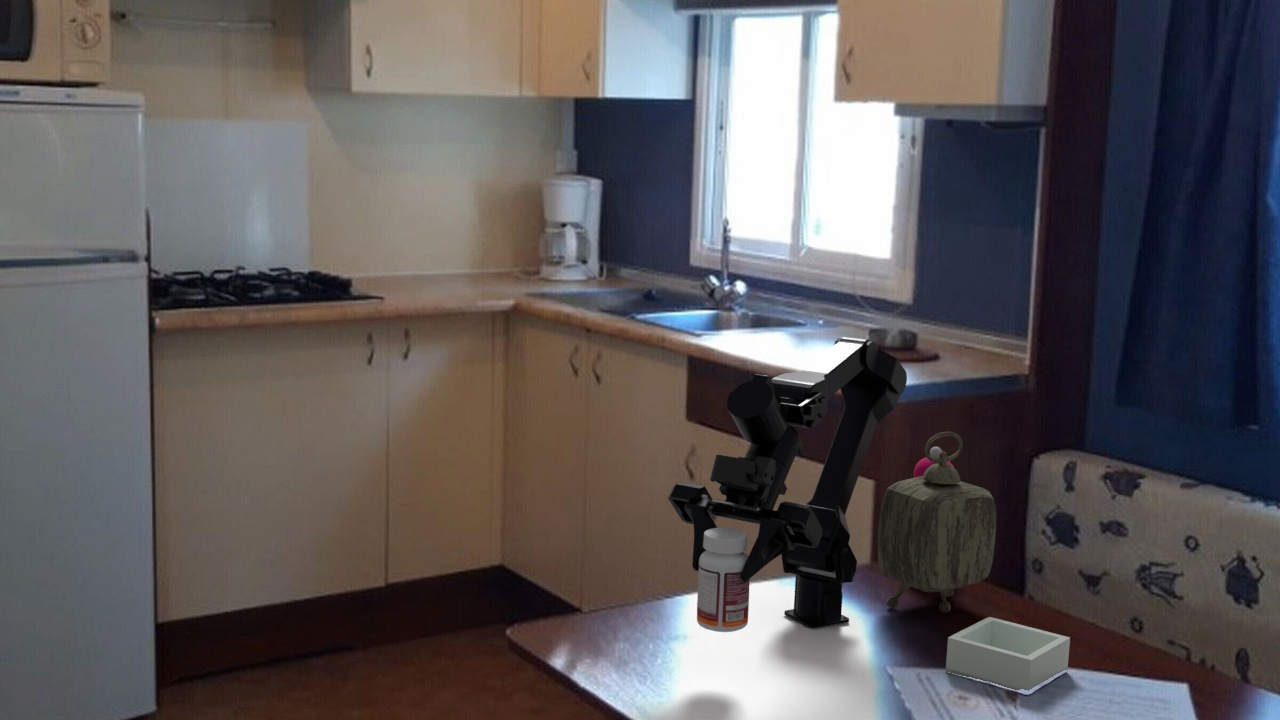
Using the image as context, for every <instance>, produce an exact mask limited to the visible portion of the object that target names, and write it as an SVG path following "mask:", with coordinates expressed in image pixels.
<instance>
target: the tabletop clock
mask: <svg viewBox="0 0 1280 720" xmlns="http://www.w3.org/2000/svg"><path fill="white" fill-rule="evenodd" d="M945 437H946V438H948V437H949V438H950V437H951V438H954V439H956V441H958V444H959V446H958V449H957V451H955V453H953V454H951V455H948V454H947V452H946V451H942V452H940V455H939V458H934V457H931V455H930V453H929V449H930V446H931V444H933V442H934V441H935V440H938V439H941V438H945ZM963 447H964V444H963V440H962V437H961V436H960V435H959V434H958V433H956V432H953V431H942V432H938V433H935V434H934V435H933V436H931V437H930V438H929V439H928V440H927V441H926V444H925V446H924V455H925V458H926V457H927V458H928V460H930V461H932V462H935V463H939V464H934V465H931V466H930V467H928V468H927V469H926V471H925V472H924V475H923V476H919V477H915V478H914V477H912V478H907V479H903V480H900V481H897V482H895V483H892V484H891V485H890V486H888V487H887V488H886V489H885V490H886V491H885V493H884V495H883V498H882V502H881V508H880V514H879V521H878V528H877V529H878V531H877V561H878V567H879V571H880V575H882V576H883V577H886V578H889V579H891V580H894V581H897V582H899V583H901V586H900V587H899V589H898V590H897V592H896V594H895V596H893V595H892V596H889V597H888V598H887V599H886V606H887V607H889V608H890V609H896V607H897V606H899V598H900V597H902V595H903V594H904V593H905V592H906V591H907V590H908V589H911V588H914V589H916V590H919V591H920V592H924V593H936V592H937V593H938V592H940V597H941V600H942V601H941V602H940V603H939V605H938V608H939V611H940V612H941V613H943V614H947V613H949V612H950V611H951V607H952V606H951V604H950V602H949V601H947V598H950V597H952V596H954V594H955V590H956V589H959V588H963V587H966V586H969V585H973V584H977V583H979V582H982V581H984V580H985V579H986V578H987V577H989V575H990V572H991V569H992V565H993V560H994V554H995V544H996V532H997V508H996V507H997V506H996V501H995V499H994V497H993V495H992V494H991V492H990V491H989V490H988V489H985V488H984V487H980V486H977V485H975V484H972V483H968V482H965V481H961V477H960V475H959V472H958V470H957V469H956V468H955V467H954V465H953V466H951V465H948V464H947V462H948V461H949V462H951V461H952V460H954V459H956V458H958V456H959V455H960V454H961V452H962V450H963Z"/></svg>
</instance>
